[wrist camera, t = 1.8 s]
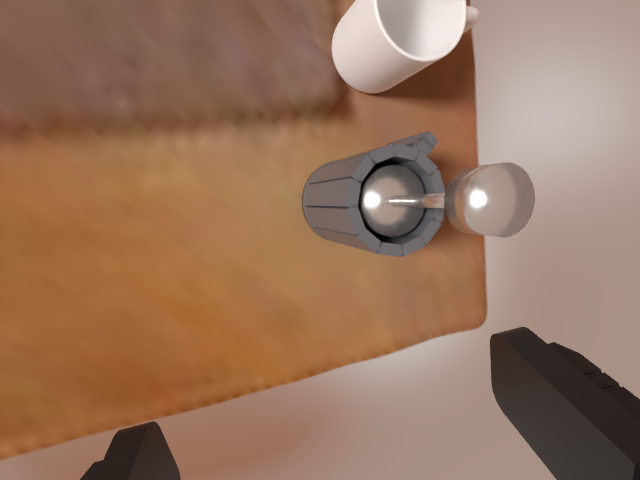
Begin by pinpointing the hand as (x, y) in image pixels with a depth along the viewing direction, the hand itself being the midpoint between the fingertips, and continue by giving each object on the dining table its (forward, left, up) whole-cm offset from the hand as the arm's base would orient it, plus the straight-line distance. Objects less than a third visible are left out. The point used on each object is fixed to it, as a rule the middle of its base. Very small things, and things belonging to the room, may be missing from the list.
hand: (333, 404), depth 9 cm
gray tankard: (+6, +12, -29) cm, 32 cm away
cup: (0, +26, -29) cm, 39 cm away
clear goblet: (+6, +11, -19) cm, 22 cm away
